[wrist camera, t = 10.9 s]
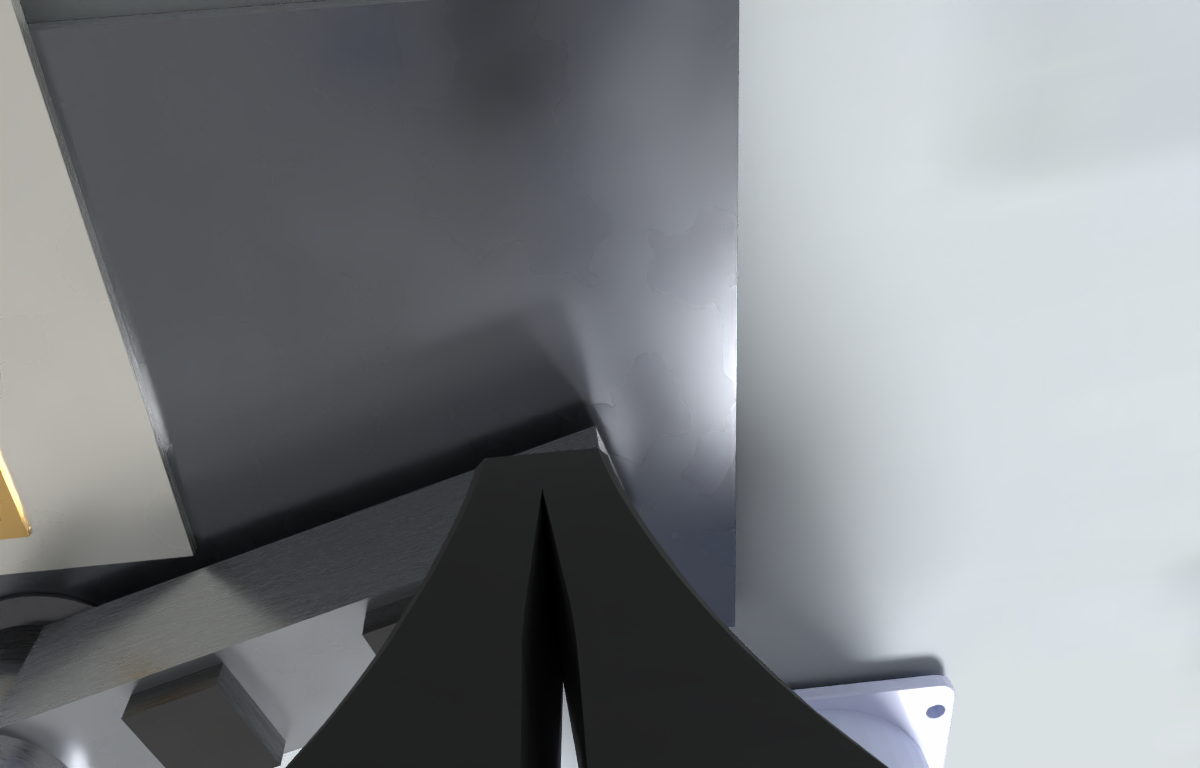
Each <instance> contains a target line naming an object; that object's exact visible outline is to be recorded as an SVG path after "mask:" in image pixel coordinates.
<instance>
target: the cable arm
mask: <svg viewBox="0 0 1200 768" xmlns="http://www.w3.org/2000/svg"><path fill="white" fill-rule="evenodd" d="M587 448H599V449H600V450H602V451H603V452H604V453H605V454H607V455H608V456H609V454H608V452H607V450H606V448H605V446H604V443H603V441H602V439H601V437H600V434H599V432H598V430H597V428H596V426H592V427H590V428H587V429H584V430H581V431H579V432H576V433H573V434H570V435H568V436H565V437H562V438H559V439H557V440H554V441H551V442H548V443H546V444H543V445H540V446H537V447H535V448H532V449H529V450H526V451H524V452H521V453H518V454H515V455H525V454H535V453H545V452H556V451H566V450H577V449H587ZM513 456H514V455H513ZM609 459H610V457H609ZM610 462H611V465H612V467H613V469H614V471H615V473H616V475H617V477H618V479H619V476H618V474H617V472H616V470H615V468H614V465H613V463H612V461H611V459H610ZM474 472H475V469H474V470H471V471H469V472H466V473H463V474H460V475H458V476H455V477H452V478H449V479H447V480H444V481H441V482H438V483H436V484H433V485H430V486H427V487H425V488H422V489H419V490H416V491H413V492H411V493H408V494H405V495H402V496H400V497H397V498H394V499H391V500H389V501H386V502H383V503H380V504H378V505H375V506H372V507H369V508H367V509H364V510H361V511H358V512H356V513H353V514H350V515H347V516H345V517H342V518H339V519H336V520H334V521H331V522H328V523H325V524H323V525H320V526H317V527H314V528H312V529H309V530H306V531H303V532H301V533H298V534H295V535H292V536H290V537H287V538H284V539H281V540H279V541H276V542H273V543H270V544H268V545H265V546H262V547H259V548H257V549H254V550H251V551H248V552H246V553H243V554H240V555H237V556H235V557H232V558H229V559H226V560H224V561H221V562H218V563H215V564H213V565H210V566H207V567H204V568H202V569H199V570H196V571H193V572H191V573H188V574H185V575H182V576H180V577H177V578H174V579H171V580H168V581H166V582H163V583H160V584H157V585H155V586H152V587H149V588H146V589H144V590H141V591H138V592H135V593H133V594H130V595H127V596H124V597H122V598H119V599H116V600H113V601H111V602H108V603H105V604H102V605H100V606H97V607H94V608H91V609H89V610H86V611H83V612H80V613H78V614H75V615H72V616H69V617H67V618H64V619H61V620H58V621H56V622H53V623H50V624H47V625H45V626H43V625H20V626H13V627H7V628H4V629H0V768H274V767H277V766H280V765H281V761H282V756H283V754H284V753H287V752H290V751H293V750H296V749H299V748H302V747H304V746H305V745H306V744H307V742H308V741H309V740H310V739H311V738H312V737H313V735H314V734H315V733H316V732H317V731H318V730H319V729H320V727H321V726H322V725H323V724H324V723H325V722H326V720H327V719H328V718H329V717H330V715H331V714H332V713H333V712H334V710H335V709H336V708H337V707H338V705H339V704H340V703H341V701H342V700H343V699H344V698H345V696H346V695H347V694H348V692H349V691H350V690H351V689H352V687H353V686H354V685H355V683H356V682H357V681H358V679H359V678H360V677H361V675H362V674H363V673H364V671H365V670H366V668H367V667H368V666H369V664H370V663H371V661H372V660H373V659H374V657H375V656H376V654H377V653H378V651H379V650H380V649H381V647H382V646H383V644H384V643H385V641H386V640H387V638H388V636H389V635H390V633H391V632H392V630H393V629H394V627H395V625H396V624H397V622H398V621H399V619H400V618H401V616H402V614H403V613H404V611H405V610H406V608H407V607H408V605H409V603H410V602H411V600H412V599H413V597H414V596H415V594H416V592H417V591H418V589H419V587H420V585H421V584H422V582H423V580H424V578H425V577H426V575H427V573H428V571H429V569H430V567H431V565H432V564H433V562H434V560H435V558H436V556H437V554H438V553H439V551H440V549H441V547H442V545H443V543H444V541H445V540H446V538H447V536H448V534H449V531H450V529H451V527H452V525H453V523H454V521H455V519H456V517H457V515H458V513H459V510H460V508H461V506H462V504H463V501H464V499H465V497H466V494H467V492H468V489H469V486H470V484H471V481H472V478H473V475H474ZM619 481H620V479H619ZM620 483H621V481H620ZM621 485H622V483H621ZM622 487H623V485H622ZM623 489H624V487H623Z"/></svg>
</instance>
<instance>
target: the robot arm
mask: <svg viewBox="0 0 1200 768" xmlns="http://www.w3.org/2000/svg"><path fill="white" fill-rule="evenodd" d="M563 683H564V689H565V694H566V700H567V705H568V711H569V717H570V722H571V728H572V733H573V739H574V744H575V750H576V755H577V761H578V767H579V768H944V764H945V757H946V751H947V745H948V738H949V732H950V726H951V719H952V713H953V707H954V700H955V689H954V687H953V685H952V683H951V681H950V680H949V679H948V678H947V677H945V676H942V675H928V676H919V677H909V678H900V679H891V680H881V681H872V682H863V683H853V684H844V685H834V686H825V687H816V688H806V689H797V690H792V689H790V688H789V687H788V686H787V685H786V684H785V683H784V682H783V681H782V680H780V679H779V678H778V677H777V676H776V675H775V674H774V673H773V672H772V671H771V670H770V669H769V668H768V667H767V666H766V665H765V664H763V663H762V662H761V661H760V660H759V659H758V658H757V657H756V656H755V655H754V654H753V653H752V652H751V651H750V650H749V649H748V648H747V647H746V646H745V645H744V644H743V643H742V642H741V641H740V640H739V639H738V638H737V637H736V636H735V635H734V633H733V632H732V631H731V630H730V629H729V628H728V627H727V626H726V625H725V624H724V623H723V622H722V621H721V619H720V618H719V617H718V616H717V615H716V614H715V613H714V612H713V610H712V609H711V608H710V607H709V606H708V605H707V603H706V602H705V601H704V600H703V599H702V598H701V596H700V595H699V594H698V593H697V592H696V591H695V589H694V588H693V587H692V586H691V585H690V583H689V582H688V581H687V580H686V578H685V577H684V576H683V575H682V573H681V572H680V571H679V570H678V568H677V567H676V566H675V564H674V563H673V562H672V560H671V559H670V558H669V556H668V555H667V553H666V552H665V551H664V549H663V548H662V547H661V545H660V544H659V543H658V541H657V540H656V539H655V537H654V536H653V534H652V533H651V532H650V530H649V529H648V527H647V526H646V524H645V523H644V521H643V520H642V518H641V517H640V515H639V513H638V512H637V510H636V509H635V507H634V505H633V504H632V502H631V501H630V499H629V497H628V496H627V494H626V492H625V490H624V489H623V487H622V485H621V483H620V481H619V479H618V477H617V475H616V473H615V471H614V469H613V467H612V465H611V462H610V459H609V456H608V455H607V454H605V453H604V452H603V451H602V450H600V449H599V448H587V449H577V450H566V451H556V452H545V453H535V454H525V455H514V456H504V457H493V458H485V459H484V460H483V461H482V462H481V463H480V464H479V465H478V466H477V467H476V469H475V472H474V475H473V478H472V481H471V484H470V486H469V489H468V492H467V494H466V497H465V499H464V501H463V504H462V506H461V508H460V510H459V513H458V515H457V517H456V519H455V521H454V523H453V525H452V527H451V529H450V531H449V534H448V536H447V538H446V540H445V541H444V543H443V545H442V547H441V549H440V551H439V553H438V554H437V556H436V558H435V560H434V562H433V564H432V565H431V567H430V569H429V571H428V573H427V575H426V577H425V578H424V580H423V582H422V584H421V585H420V587H419V589H418V591H417V592H416V594H415V596H414V597H413V599H412V600H411V602H410V603H409V605H408V607H407V608H406V610H405V611H404V613H403V614H402V616H401V618H400V619H399V621H398V622H397V624H396V625H395V627H394V629H393V630H392V632H391V633H390V635H389V636H388V638H387V640H386V641H385V643H384V644H383V646H382V647H381V649H380V650H379V651H378V653H377V654H376V656H375V657H374V659H373V660H372V661H371V663H370V664H369V666H368V667H367V668H366V670H365V671H364V673H363V674H362V675H361V677H360V678H359V679H358V681H357V682H356V683H355V685H354V686H353V687H352V689H351V690H350V691H349V692H348V694H347V695H346V696H345V698H344V699H343V700H342V701H341V703H340V704H339V705H338V707H337V708H336V709H335V710H334V712H333V713H332V714H331V715H330V717H329V718H328V719H327V720H326V722H325V723H324V724H323V725H322V726H321V727H320V729H319V730H318V731H317V732H316V733H315V734H314V735H313V737H312V738H311V739H310V740H309V741H308V742H307V744H306V745H305V746H304V747H303V748H302V749H301V750H300V752H299V753H298V754H297V755H296V756H295V757H294V759H293V760H292V761H291V762H290V763H289V764H288V765H287V767H286V768H561V738H562V702H563ZM933 705H935V706H933ZM931 706H932V707H931Z"/></svg>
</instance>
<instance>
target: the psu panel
mask: <svg viewBox="0 0 1200 768" xmlns="http://www.w3.org/2000/svg"><path fill="white" fill-rule="evenodd" d="M738 87H739V0H323V1H310V2H297V3H284V4H271V5H258V6H245V7H232V8H219V9H206V10H193V11H181V12H168V13H155V14H142V15H129V16H116V17H103V18H90V19H77V20H64V21H51V22H38V23H26V20H25V17H24V14H23V11H22V8H21V5H20V1H19V0H0V629H4V628H7V627H13V626H20V625H43V626H45V625H47V624H50V623H53V622H56V621H58V620H61V619H64V618H67V617H69V616H72V615H75V614H78V613H80V612H83V611H86V610H89V609H91V608H94V607H97V606H100V605H102V604H105V603H108V602H111V601H113V600H116V599H119V598H122V597H124V596H127V595H130V594H133V593H135V592H138V591H141V590H144V589H146V588H149V587H152V586H155V585H157V584H160V583H163V582H166V581H168V580H171V579H174V578H177V577H180V576H182V575H185V574H188V573H191V572H193V571H196V570H199V569H202V568H204V567H207V566H210V565H213V564H215V563H218V562H221V561H224V560H226V559H229V558H232V557H235V556H237V555H240V554H243V553H246V552H248V551H251V550H254V549H257V548H259V547H262V546H265V545H268V544H270V543H273V542H276V541H279V540H281V539H284V538H287V537H290V536H292V535H295V534H298V533H301V532H303V531H306V530H309V529H312V528H314V527H317V526H320V525H323V524H325V523H328V522H331V521H334V520H336V519H339V518H342V517H345V516H347V515H350V514H353V513H356V512H358V511H361V510H364V509H367V508H369V507H372V506H375V505H378V504H380V503H383V502H386V501H389V500H391V499H394V498H397V497H400V496H402V495H405V494H408V493H411V492H413V491H416V490H419V489H422V488H425V487H427V486H430V485H433V484H436V483H438V482H441V481H444V480H447V479H449V478H452V477H455V476H458V475H460V474H463V473H466V472H469V471H471V470H474V469H476V467H477V466H478V465H479V464H480V463H481V462H482V461H483V460H484V459H485V458H493V457H504V456H513V455H515V454H518V453H521V452H524V451H526V450H529V449H532V448H535V447H537V446H540V445H543V444H546V443H548V442H551V441H554V440H557V439H559V438H562V437H565V436H568V435H570V434H573V433H576V432H579V431H581V430H584V429H587V428H590V427H592V426H596V428H597V430H598V432H599V434H600V437H601V439H602V441H603V443H604V446H605V448H606V450H607V452H608V454H609V457H610V459H611V461H612V463H613V465H614V468H615V470H616V472H617V474H618V476H619V479H620V481H621V483H622V485H623V487H624V490H625V492H626V494H627V496H628V497H629V499H630V501H631V502H632V504H633V505H634V507H635V509H636V510H637V512H638V513H639V515H640V517H641V518H642V520H643V521H644V523H645V524H646V526H647V527H648V529H649V530H650V532H651V533H652V534H653V536H654V537H655V539H656V540H657V541H658V543H659V544H660V545H661V547H662V548H663V549H664V551H665V552H666V553H667V555H668V556H669V558H670V559H671V560H672V562H673V563H674V564H675V566H676V567H677V568H678V570H679V571H680V572H681V573H682V575H683V576H684V577H685V578H686V580H687V581H688V582H689V583H690V585H691V586H692V587H693V588H694V589H695V591H696V592H697V593H698V594H699V595H700V596H701V598H702V599H703V600H704V601H705V602H706V603H707V605H708V606H709V607H710V608H711V609H712V610H713V612H714V613H715V614H716V615H717V616H718V617H719V618H720V619H721V621H722V622H723V623H724V624H725V625H726V626H727V627H735V512H736V370H737V229H738Z"/></svg>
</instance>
